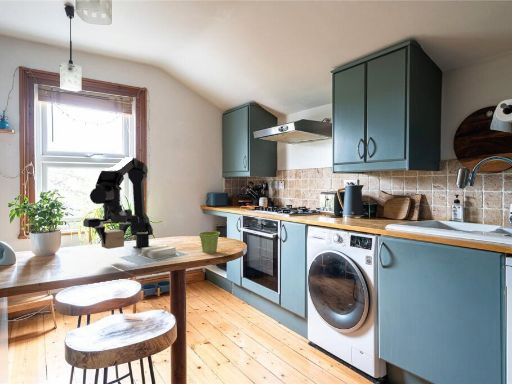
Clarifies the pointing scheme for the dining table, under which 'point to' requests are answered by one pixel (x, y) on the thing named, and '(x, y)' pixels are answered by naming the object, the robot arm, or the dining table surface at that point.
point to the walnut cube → (113, 239)
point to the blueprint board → (143, 259)
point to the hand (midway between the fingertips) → (112, 243)
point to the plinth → (158, 251)
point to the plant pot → (209, 241)
